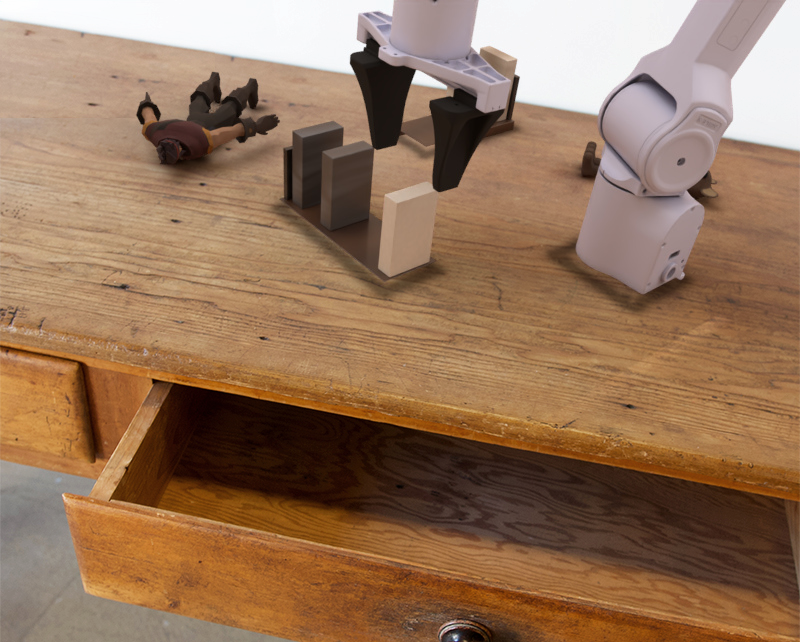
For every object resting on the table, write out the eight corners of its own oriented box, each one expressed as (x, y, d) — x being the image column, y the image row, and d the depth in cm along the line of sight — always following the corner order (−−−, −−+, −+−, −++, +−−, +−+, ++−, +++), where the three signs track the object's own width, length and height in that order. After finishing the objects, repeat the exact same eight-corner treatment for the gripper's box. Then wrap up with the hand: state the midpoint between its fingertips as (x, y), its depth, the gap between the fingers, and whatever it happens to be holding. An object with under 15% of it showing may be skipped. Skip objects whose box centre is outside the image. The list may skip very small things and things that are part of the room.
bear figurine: (597, 113, 89) (727, 128, 86) (590, 148, 92) (717, 165, 89) (573, 178, 76) (725, 199, 73) (567, 217, 79) (713, 239, 76)
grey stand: (435, 270, 68) (448, 187, 62) (383, 291, 65) (391, 206, 59) (329, 192, 76) (332, 113, 70) (278, 207, 73) (277, 126, 67)
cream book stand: (513, 128, 91) (526, 60, 86) (425, 154, 84) (434, 81, 78) (478, 110, 94) (489, 42, 89) (390, 133, 87) (397, 61, 82)
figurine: (174, 101, 90) (91, 166, 75) (171, 63, 87) (84, 123, 72) (297, 122, 89) (238, 193, 73) (298, 85, 86) (237, 150, 71)
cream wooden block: (429, 262, 67) (439, 189, 62) (389, 277, 64) (397, 203, 60) (417, 253, 68) (426, 180, 63) (377, 268, 65) (384, 194, 60)
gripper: (327, -51, 52) (319, 138, 62) (468, 17, 45) (435, 221, 54) (406, -57, 56) (387, 122, 65) (549, 5, 49) (505, 198, 58)
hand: (413, 166), depth 60 cm, fingers open, 7 cm apart
